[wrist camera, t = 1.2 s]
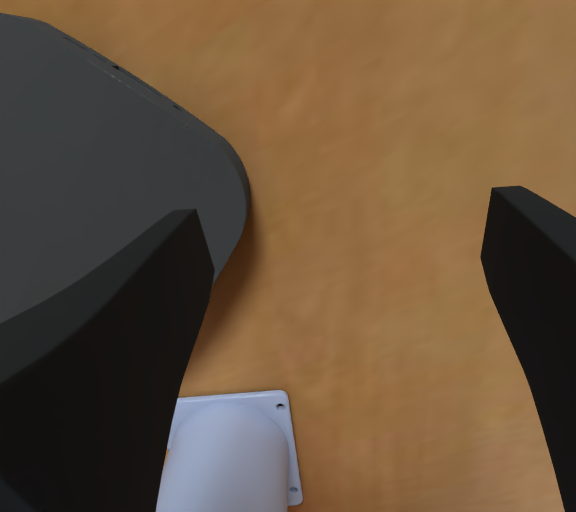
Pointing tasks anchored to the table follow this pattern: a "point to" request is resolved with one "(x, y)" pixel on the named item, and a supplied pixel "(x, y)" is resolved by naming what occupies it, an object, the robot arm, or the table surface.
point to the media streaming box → (96, 165)
